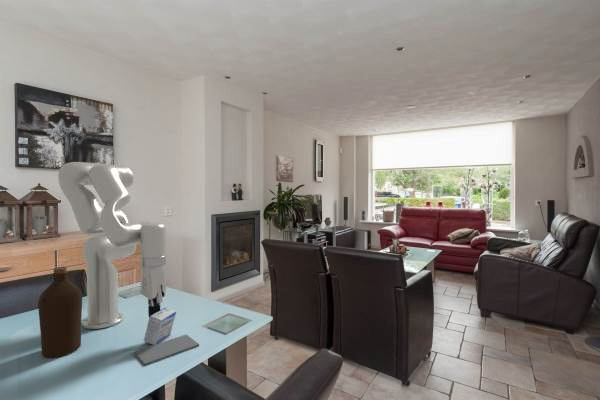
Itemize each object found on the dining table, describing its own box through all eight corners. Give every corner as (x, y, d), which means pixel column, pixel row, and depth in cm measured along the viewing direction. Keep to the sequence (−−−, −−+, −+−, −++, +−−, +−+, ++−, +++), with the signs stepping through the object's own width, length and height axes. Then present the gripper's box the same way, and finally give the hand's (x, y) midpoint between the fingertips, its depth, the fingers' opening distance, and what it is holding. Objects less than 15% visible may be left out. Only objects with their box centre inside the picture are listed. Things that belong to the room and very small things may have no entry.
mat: (134, 353, 95) (134, 351, 95) (186, 336, 106) (186, 334, 106) (144, 365, 88) (144, 363, 88) (199, 346, 99) (199, 344, 99)
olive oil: (75, 356, 93) (73, 271, 92) (31, 361, 90) (29, 273, 89) (88, 339, 103) (86, 262, 102) (49, 343, 100) (47, 264, 99)
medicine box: (155, 346, 99) (161, 320, 98) (142, 340, 100) (149, 315, 99) (170, 335, 106) (177, 311, 106) (159, 329, 107) (165, 306, 106)
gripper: (133, 259, 106) (134, 313, 107) (149, 267, 96) (151, 327, 96) (156, 256, 112) (157, 307, 112) (174, 263, 101) (175, 320, 102)
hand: (154, 316), depth 104 cm, fingers closed
